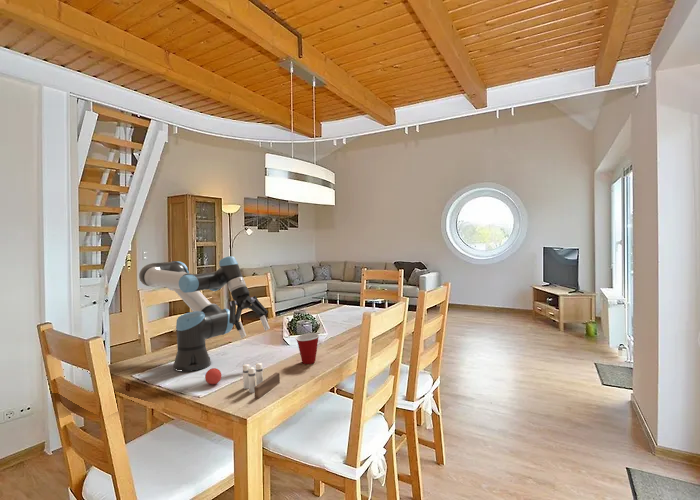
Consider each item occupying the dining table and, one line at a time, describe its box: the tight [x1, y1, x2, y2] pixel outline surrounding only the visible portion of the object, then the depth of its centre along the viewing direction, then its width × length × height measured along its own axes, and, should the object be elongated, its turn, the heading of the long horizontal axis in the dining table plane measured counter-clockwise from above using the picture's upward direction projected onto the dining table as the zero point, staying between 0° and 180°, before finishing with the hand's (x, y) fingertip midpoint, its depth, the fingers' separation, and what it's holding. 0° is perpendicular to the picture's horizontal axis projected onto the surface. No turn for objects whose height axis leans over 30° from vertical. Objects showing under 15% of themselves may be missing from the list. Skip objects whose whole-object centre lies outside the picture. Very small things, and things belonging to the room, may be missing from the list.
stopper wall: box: [254, 372, 281, 400], centre depth 144 cm, size 2×15×4 cm, turn 161°
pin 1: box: [248, 366, 256, 394], centre depth 143 cm, size 2×2×9 cm
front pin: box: [242, 363, 250, 390], centre depth 147 cm, size 2×2×9 cm
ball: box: [204, 367, 222, 385], centre depth 152 cm, size 6×6×6 cm
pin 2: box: [255, 362, 264, 386], centre depth 148 cm, size 2×2×9 cm
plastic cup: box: [295, 332, 320, 365], centre depth 175 cm, size 11×11×12 cm
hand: (256, 333), depth 169 cm, fingers open, 13 cm apart
